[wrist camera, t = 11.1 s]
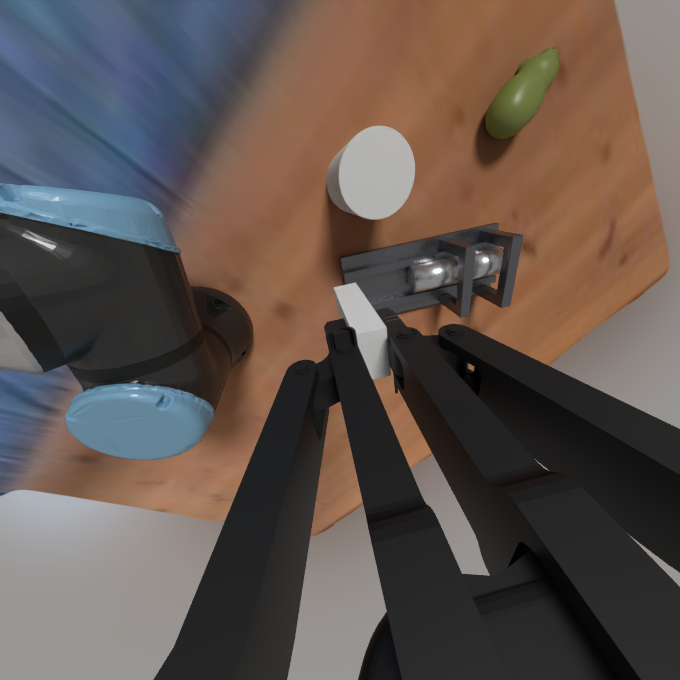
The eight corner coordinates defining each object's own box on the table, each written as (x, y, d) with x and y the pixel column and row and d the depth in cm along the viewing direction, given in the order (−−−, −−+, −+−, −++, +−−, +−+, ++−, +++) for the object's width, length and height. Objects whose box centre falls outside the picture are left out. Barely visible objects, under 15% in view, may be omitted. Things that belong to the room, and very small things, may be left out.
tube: (409, 291, 45) (419, 293, 40) (405, 266, 43) (416, 265, 39) (489, 273, 45) (507, 273, 41) (488, 248, 44) (506, 245, 40)
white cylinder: (355, 130, 33) (382, 102, 23) (392, 182, 37) (429, 177, 27) (314, 181, 36) (322, 175, 25) (353, 225, 39) (373, 235, 29)
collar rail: (350, 321, 47) (360, 343, 40) (339, 257, 41) (349, 270, 34) (485, 289, 49) (519, 306, 41) (494, 222, 42) (535, 228, 35)
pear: (501, 102, 30) (562, 20, 28) (469, 121, 35) (520, 51, 33) (523, 141, 32) (580, 66, 31) (490, 153, 37) (539, 89, 35)
